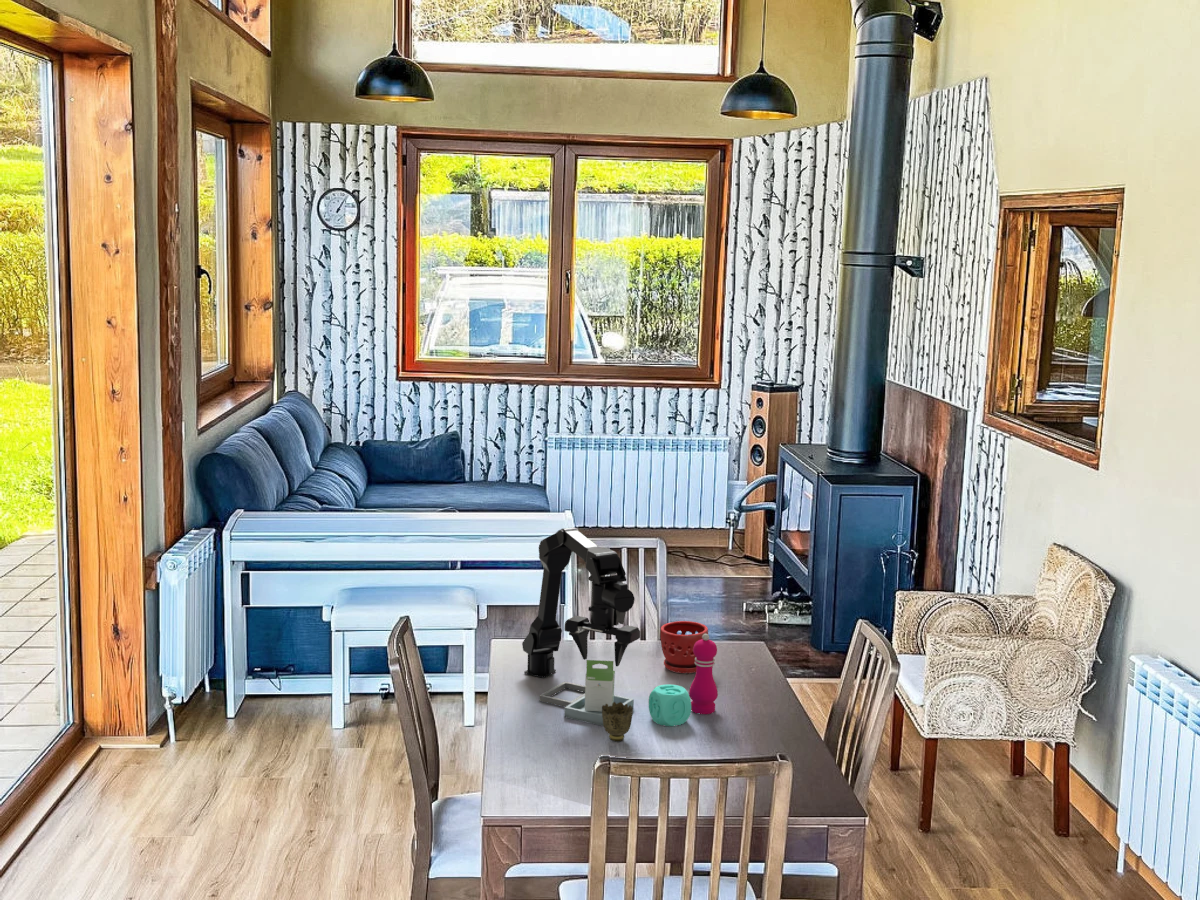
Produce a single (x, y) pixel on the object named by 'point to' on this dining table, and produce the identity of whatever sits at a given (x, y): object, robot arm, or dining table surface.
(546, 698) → the frame
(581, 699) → the tray
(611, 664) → the ink box
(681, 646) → the plant pot
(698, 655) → the pepper mill
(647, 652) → the dining table surface
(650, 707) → the decorative dice
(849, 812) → the dining table surface
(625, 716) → the cup
